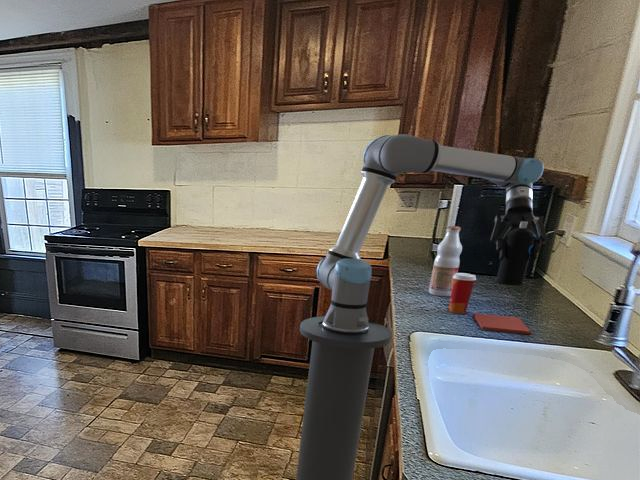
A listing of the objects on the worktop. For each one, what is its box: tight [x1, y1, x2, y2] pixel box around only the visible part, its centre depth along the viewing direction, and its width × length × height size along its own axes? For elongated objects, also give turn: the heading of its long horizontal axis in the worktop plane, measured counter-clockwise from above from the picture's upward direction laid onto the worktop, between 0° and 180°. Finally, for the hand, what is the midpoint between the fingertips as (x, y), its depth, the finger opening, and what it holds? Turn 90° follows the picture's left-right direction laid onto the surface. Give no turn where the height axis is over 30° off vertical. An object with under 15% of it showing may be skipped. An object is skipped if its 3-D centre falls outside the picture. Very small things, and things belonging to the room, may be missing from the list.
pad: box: [473, 313, 532, 336], centre depth 182 cm, size 14×18×1 cm
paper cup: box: [448, 272, 477, 315], centre depth 195 cm, size 8×8×14 cm
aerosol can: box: [494, 222, 536, 287], centre depth 173 cm, size 8×8×20 cm
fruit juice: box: [428, 225, 463, 297], centre depth 219 cm, size 9×9×28 cm
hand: (517, 258), depth 171 cm, fingers closed on aerosol can, 8 cm apart
